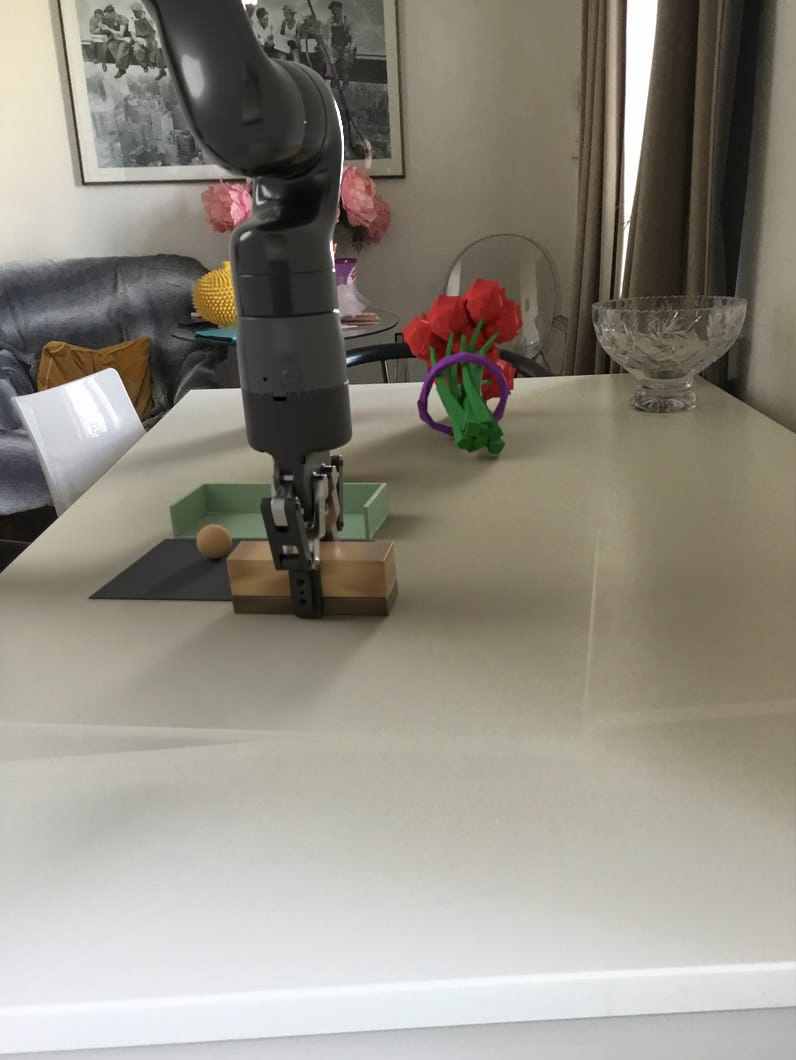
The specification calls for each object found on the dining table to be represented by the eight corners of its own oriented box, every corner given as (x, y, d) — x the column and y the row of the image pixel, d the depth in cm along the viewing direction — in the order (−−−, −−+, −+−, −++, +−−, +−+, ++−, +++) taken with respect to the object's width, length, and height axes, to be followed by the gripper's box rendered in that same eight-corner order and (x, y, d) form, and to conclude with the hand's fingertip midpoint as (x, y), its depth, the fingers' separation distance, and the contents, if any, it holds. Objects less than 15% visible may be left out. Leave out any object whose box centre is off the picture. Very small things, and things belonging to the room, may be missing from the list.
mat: (89, 600, 84) (88, 597, 84) (165, 541, 98) (165, 538, 98) (332, 604, 82) (331, 601, 82) (375, 543, 96) (375, 540, 96)
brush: (234, 614, 80) (224, 560, 78) (250, 591, 84) (242, 539, 82) (388, 617, 79) (383, 562, 77) (398, 594, 82) (393, 540, 80)
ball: (193, 563, 91) (188, 530, 90) (206, 552, 94) (201, 520, 93) (227, 563, 91) (222, 530, 90) (238, 552, 94) (234, 520, 92)
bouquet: (419, 511, 127) (405, 412, 152) (554, 503, 129) (518, 406, 153) (412, 353, 116) (398, 273, 140) (560, 345, 117) (520, 268, 142)
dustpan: (369, 541, 96) (367, 506, 95) (174, 539, 99) (168, 505, 97) (403, 494, 111) (401, 463, 110) (232, 494, 114) (228, 463, 112)
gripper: (273, 363, 81) (296, 572, 88) (207, 397, 68) (239, 640, 75) (368, 362, 80) (384, 573, 87) (319, 396, 67) (342, 642, 74)
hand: (316, 603), depth 81 cm, fingers closed on brush, 4 cm apart
